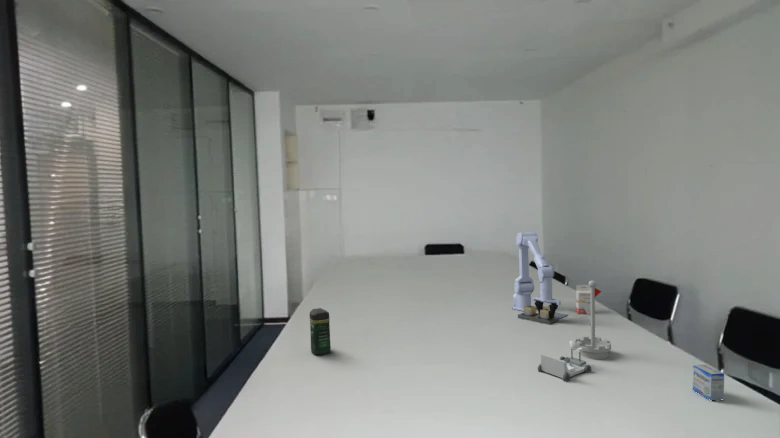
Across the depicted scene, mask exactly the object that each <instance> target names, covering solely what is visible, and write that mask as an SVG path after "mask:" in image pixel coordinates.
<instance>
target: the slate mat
mask: <svg viewBox="0 0 780 438" xmlns="http://www.w3.org/2000/svg"><path fill="white" fill-rule="evenodd" d="M554 316H555V317H559V320H560V319H562V318H565V317H567V316H568V314H566V313H560V312H556V311H555V315H554Z"/></svg>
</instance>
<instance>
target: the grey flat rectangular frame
mask: <svg viewBox="0 0 780 438" xmlns="http://www.w3.org/2000/svg"><path fill="white" fill-rule="evenodd" d="M517 319H521V320H525V321H529V322H535V323H541V324H545V325H552V324H554V323H557V322H559V321H560V319H559V317H555V316H554V318H553V319H551V320H546V319H541V318H540V316H539V313H538V312H536V315H535V316H533V317H531V316H526V315H524V312H521V313H519V314H517Z"/></svg>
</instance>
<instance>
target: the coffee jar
mask: <svg viewBox="0 0 780 438" xmlns="http://www.w3.org/2000/svg"><path fill="white" fill-rule="evenodd" d="M330 319H331V318H330V313H329V311H328V310H327V309H326V310H325V309H324V308H321V307H317V308H312V310H310V312H309V328H310V330H309V331H310V333H309V334H310V351H311V353H313V354H314V355H316V354H318V355H319V354H320V355H321V354H324V355H326V354H325V353H327V354H328V352H329V353H331V351H332V350H331V349H332V347H331V330H330V329H331V326H330V325H331V324H330Z"/></svg>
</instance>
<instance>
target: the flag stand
mask: <svg viewBox="0 0 780 438" xmlns="http://www.w3.org/2000/svg"><path fill="white" fill-rule="evenodd" d="M587 285H589V286H590V294H591V314H590V338H589V336H588V335H584V336H581V338H580V337H576V338H575V341H577V342H576V343H578V344H579V345H580V347H579V348H583V351H581V352H580V357H583V358H587V359H593V360H605V359H607V358H609V352H610V351H611V350H612V342H611V341H610V340H609V339H607V338H606V339H605V338H604V340H603V339H602V337H600V336H596V311H595V310H596V309H595V308H596V305H595V304H596V299H595V298H596V297H597V296H598V295H599V294H600V293H601V292H602V290H600V289H598V288H596V287H597V282H596V281H595V280H590V281H589V282H588V284H587Z"/></svg>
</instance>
